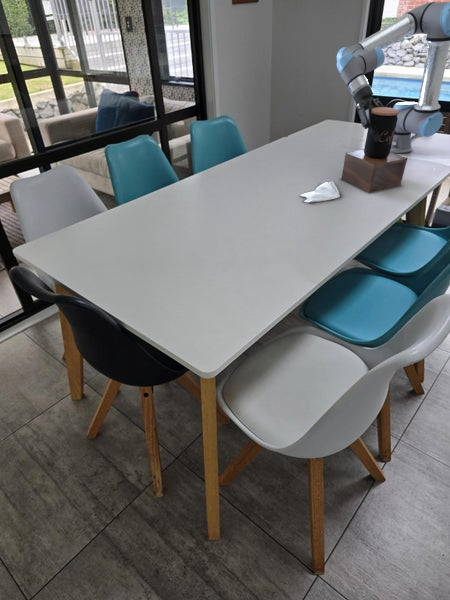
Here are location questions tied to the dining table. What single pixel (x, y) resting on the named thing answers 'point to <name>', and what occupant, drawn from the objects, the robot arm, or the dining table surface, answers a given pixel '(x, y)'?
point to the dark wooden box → (373, 171)
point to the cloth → (322, 193)
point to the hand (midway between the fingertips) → (386, 137)
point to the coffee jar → (381, 132)
